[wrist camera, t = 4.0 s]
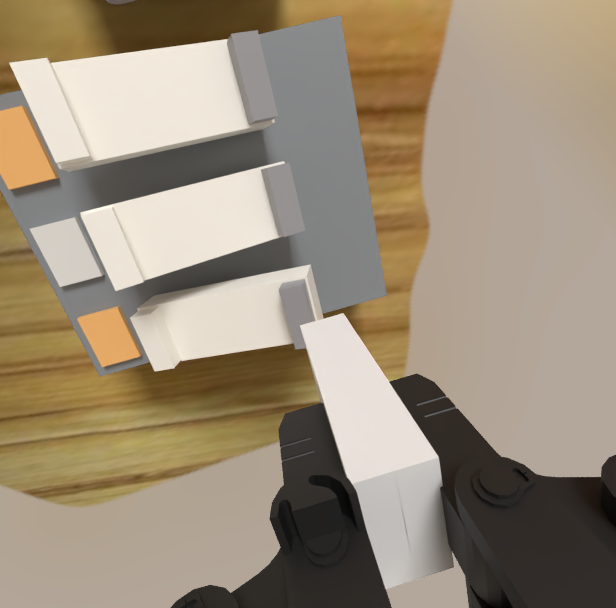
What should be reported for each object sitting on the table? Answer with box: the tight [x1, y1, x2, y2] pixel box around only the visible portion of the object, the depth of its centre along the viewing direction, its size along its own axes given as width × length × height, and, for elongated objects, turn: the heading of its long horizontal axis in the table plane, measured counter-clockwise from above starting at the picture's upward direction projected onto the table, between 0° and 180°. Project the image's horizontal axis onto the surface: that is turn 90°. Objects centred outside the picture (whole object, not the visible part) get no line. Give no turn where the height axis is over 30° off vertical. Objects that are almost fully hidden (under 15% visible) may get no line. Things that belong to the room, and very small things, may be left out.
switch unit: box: [0, 15, 387, 376], centre depth 19 cm, size 16×13×7 cm
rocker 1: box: [9, 30, 278, 172], centre depth 13 cm, size 8×3×2 cm, turn 104°
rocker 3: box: [130, 264, 324, 371], centre depth 16 cm, size 8×3×2 cm, turn 103°
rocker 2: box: [80, 161, 305, 291], centre depth 15 cm, size 8×3×2 cm, turn 104°
